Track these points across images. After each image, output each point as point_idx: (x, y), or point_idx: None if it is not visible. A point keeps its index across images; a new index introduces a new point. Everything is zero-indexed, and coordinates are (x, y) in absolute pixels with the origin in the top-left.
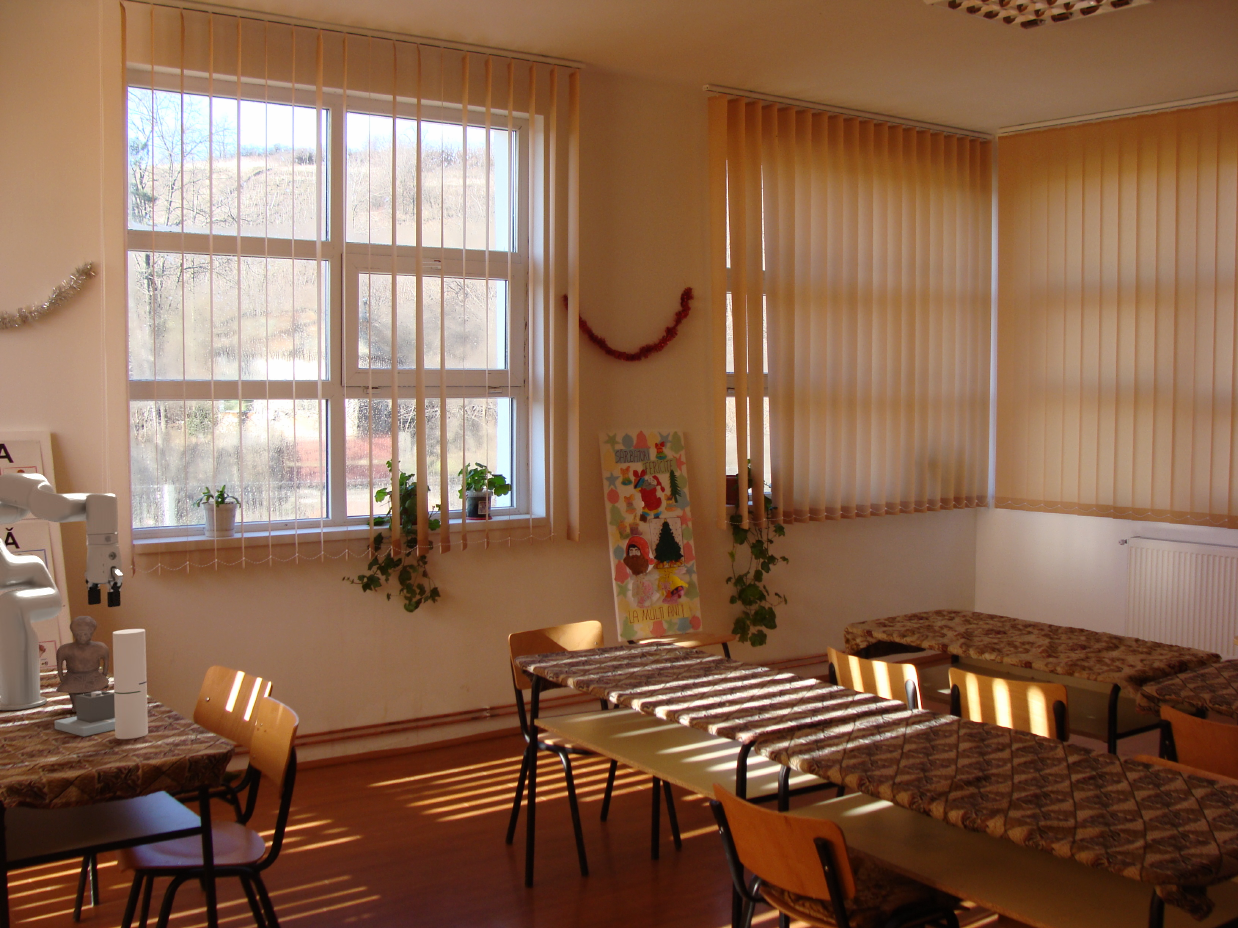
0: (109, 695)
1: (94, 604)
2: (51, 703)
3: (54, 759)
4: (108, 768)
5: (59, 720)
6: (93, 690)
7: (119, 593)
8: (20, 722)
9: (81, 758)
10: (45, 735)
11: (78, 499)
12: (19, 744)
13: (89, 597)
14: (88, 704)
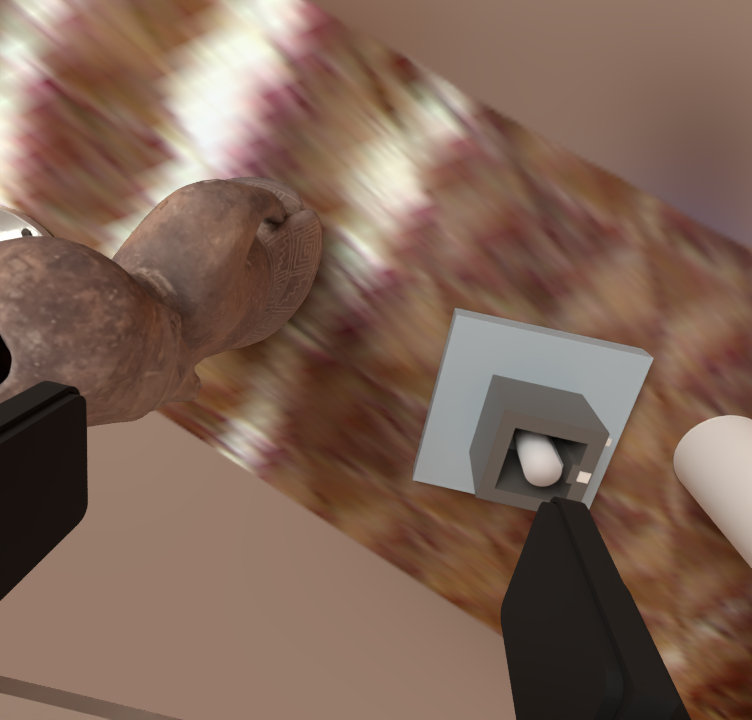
0: (599, 454)
1: (81, 455)
2: (66, 224)
3: (680, 661)
4: None
5: (424, 472)
6: (313, 281)
7: (649, 659)
8: (242, 441)
9: (747, 644)
10: (454, 521)
11: None
12: (468, 594)
13: (10, 577)
14: None
